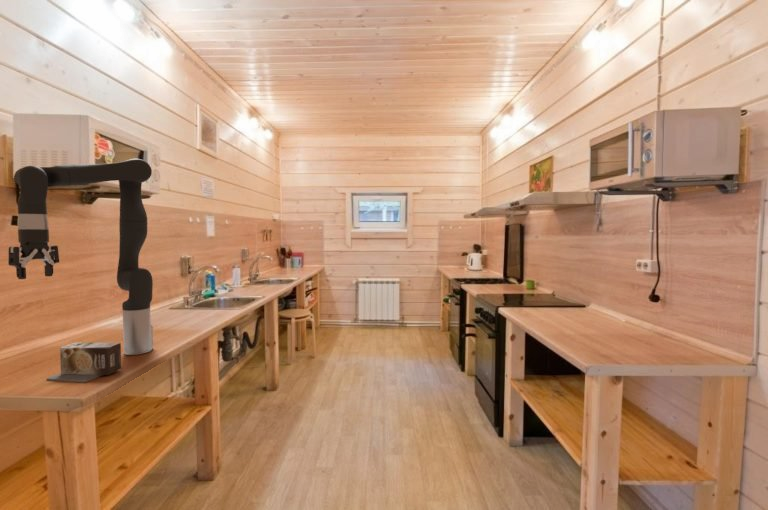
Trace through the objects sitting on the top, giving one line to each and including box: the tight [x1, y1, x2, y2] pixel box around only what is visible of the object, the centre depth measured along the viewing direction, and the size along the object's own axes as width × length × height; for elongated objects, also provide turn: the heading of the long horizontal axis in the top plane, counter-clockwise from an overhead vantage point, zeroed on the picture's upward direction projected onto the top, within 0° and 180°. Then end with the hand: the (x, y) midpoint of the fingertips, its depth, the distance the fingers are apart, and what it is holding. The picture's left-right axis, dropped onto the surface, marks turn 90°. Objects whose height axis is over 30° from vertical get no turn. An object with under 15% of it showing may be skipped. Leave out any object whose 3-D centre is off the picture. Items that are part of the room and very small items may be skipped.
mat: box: [46, 372, 103, 383], centre depth 130 cm, size 14×14×1 cm
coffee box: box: [59, 341, 122, 376], centre depth 130 cm, size 9×6×16 cm
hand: (35, 277), depth 129 cm, fingers open, 8 cm apart
